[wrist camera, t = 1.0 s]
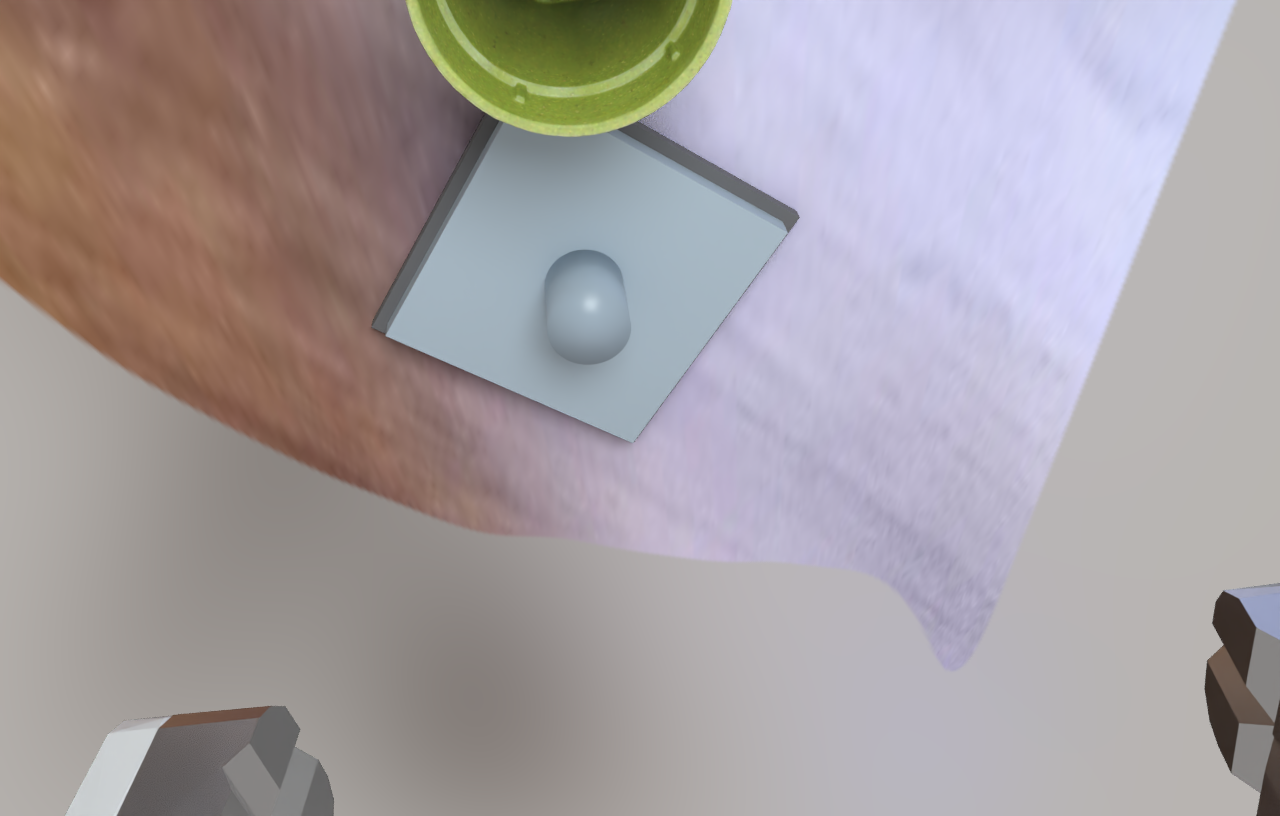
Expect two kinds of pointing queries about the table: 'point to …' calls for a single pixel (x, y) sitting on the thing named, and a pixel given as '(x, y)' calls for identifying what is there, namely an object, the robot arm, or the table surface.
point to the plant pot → (568, 56)
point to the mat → (632, 130)
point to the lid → (583, 273)
